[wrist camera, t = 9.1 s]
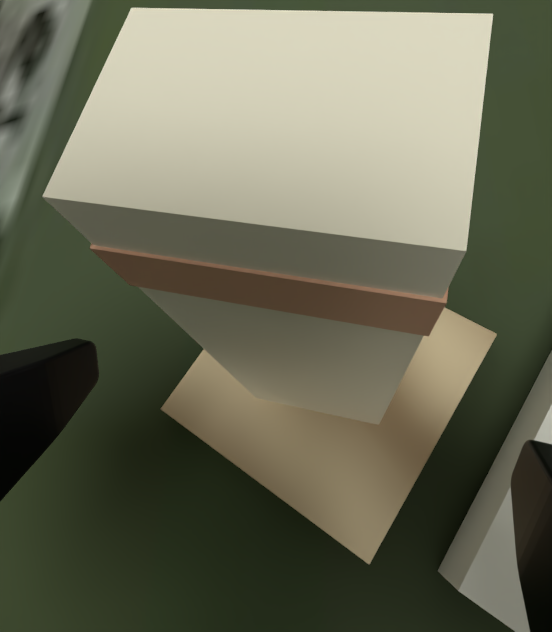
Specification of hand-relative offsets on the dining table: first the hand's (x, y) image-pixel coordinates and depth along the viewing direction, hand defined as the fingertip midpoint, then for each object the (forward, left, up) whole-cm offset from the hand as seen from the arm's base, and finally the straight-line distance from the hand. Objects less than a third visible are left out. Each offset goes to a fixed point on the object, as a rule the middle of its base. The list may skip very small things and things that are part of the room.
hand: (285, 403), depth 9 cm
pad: (+2, 0, -8) cm, 9 cm away
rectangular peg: (+2, 0, -7) cm, 8 cm away
